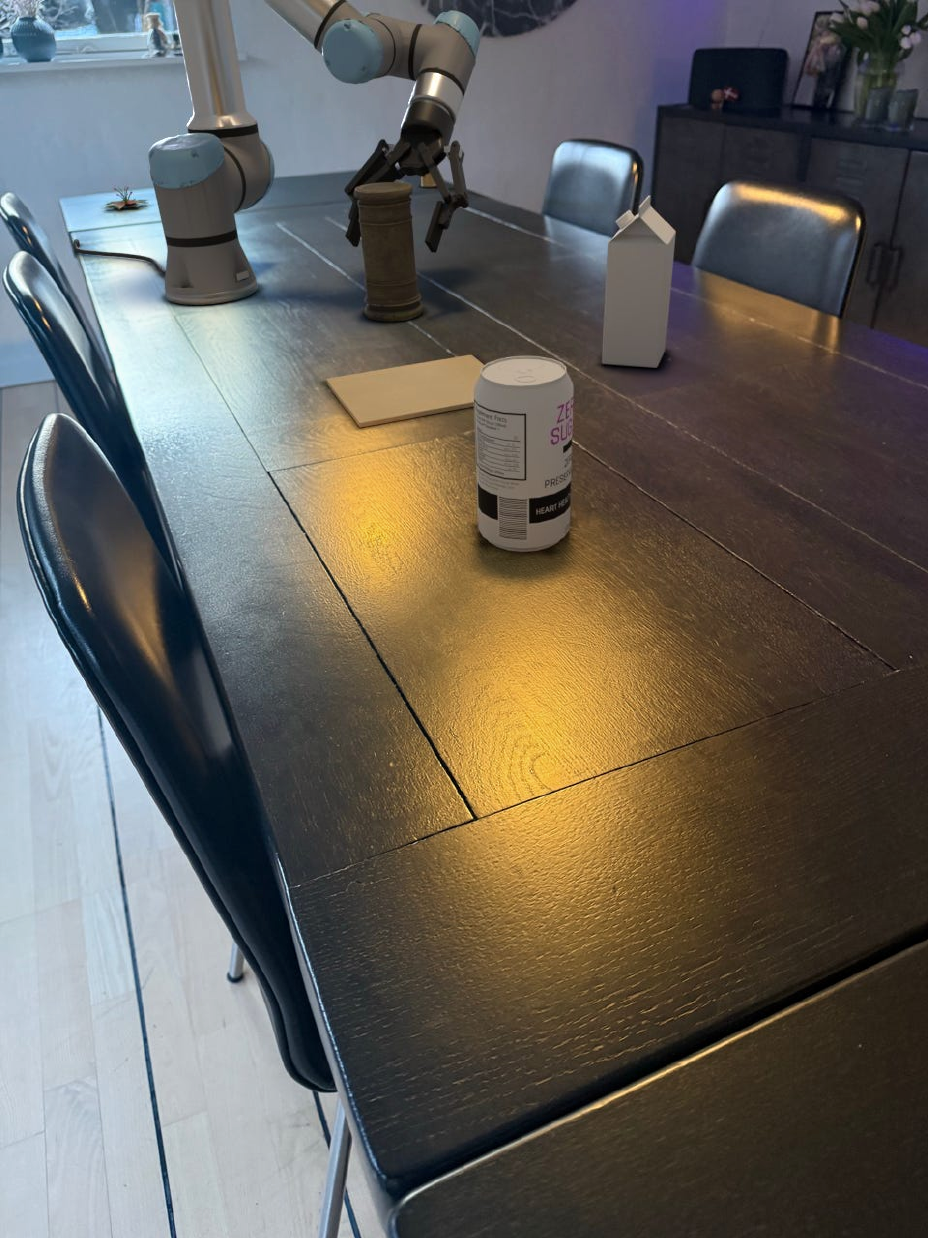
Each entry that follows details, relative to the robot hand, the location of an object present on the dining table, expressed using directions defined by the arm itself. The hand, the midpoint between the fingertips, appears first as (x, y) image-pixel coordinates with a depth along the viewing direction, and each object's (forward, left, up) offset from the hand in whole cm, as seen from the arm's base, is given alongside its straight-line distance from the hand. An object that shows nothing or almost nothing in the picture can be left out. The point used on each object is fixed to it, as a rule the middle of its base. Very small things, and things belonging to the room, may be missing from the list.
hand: (389, 244), depth 133 cm
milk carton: (+35, +22, -10) cm, 42 cm away
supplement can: (+71, -10, -10) cm, 72 cm away
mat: (+33, -7, -10) cm, 35 cm away
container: (0, 0, -10) cm, 10 cm away
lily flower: (-121, -32, -10) cm, 126 cm away
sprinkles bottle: (-103, +42, -10) cm, 112 cm away
